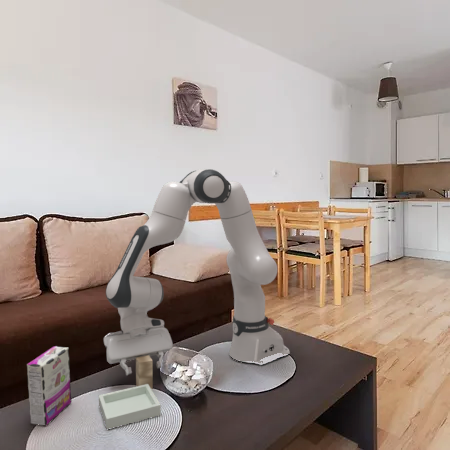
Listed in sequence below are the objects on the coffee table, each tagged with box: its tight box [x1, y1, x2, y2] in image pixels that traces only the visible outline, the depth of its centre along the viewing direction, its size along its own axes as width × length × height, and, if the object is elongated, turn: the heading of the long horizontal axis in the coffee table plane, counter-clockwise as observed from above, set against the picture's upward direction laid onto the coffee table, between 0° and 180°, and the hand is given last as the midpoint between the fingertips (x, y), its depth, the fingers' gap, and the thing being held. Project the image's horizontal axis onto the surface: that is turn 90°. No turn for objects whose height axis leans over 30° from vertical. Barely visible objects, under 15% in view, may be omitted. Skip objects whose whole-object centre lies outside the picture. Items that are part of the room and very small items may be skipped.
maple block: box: [135, 355, 154, 390], centre depth 116 cm, size 4×4×9 cm
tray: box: [98, 384, 162, 430], centre depth 104 cm, size 14×12×3 cm
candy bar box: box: [26, 345, 72, 426], centre depth 102 cm, size 11×5×16 cm, turn 168°
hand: (144, 371), depth 116 cm, fingers open, 8 cm apart
